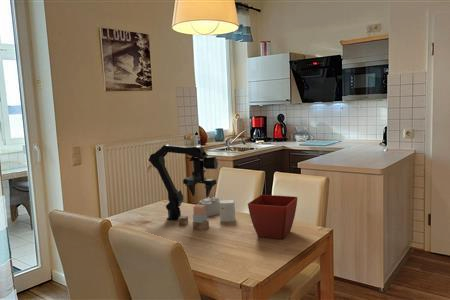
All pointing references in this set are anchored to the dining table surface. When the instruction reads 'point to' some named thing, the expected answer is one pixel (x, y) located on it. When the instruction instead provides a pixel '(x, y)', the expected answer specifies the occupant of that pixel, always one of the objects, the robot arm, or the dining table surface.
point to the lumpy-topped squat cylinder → (211, 205)
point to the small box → (227, 211)
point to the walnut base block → (201, 225)
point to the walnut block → (183, 220)
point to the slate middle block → (199, 218)
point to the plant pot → (272, 215)
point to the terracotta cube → (199, 209)
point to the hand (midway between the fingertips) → (200, 196)
